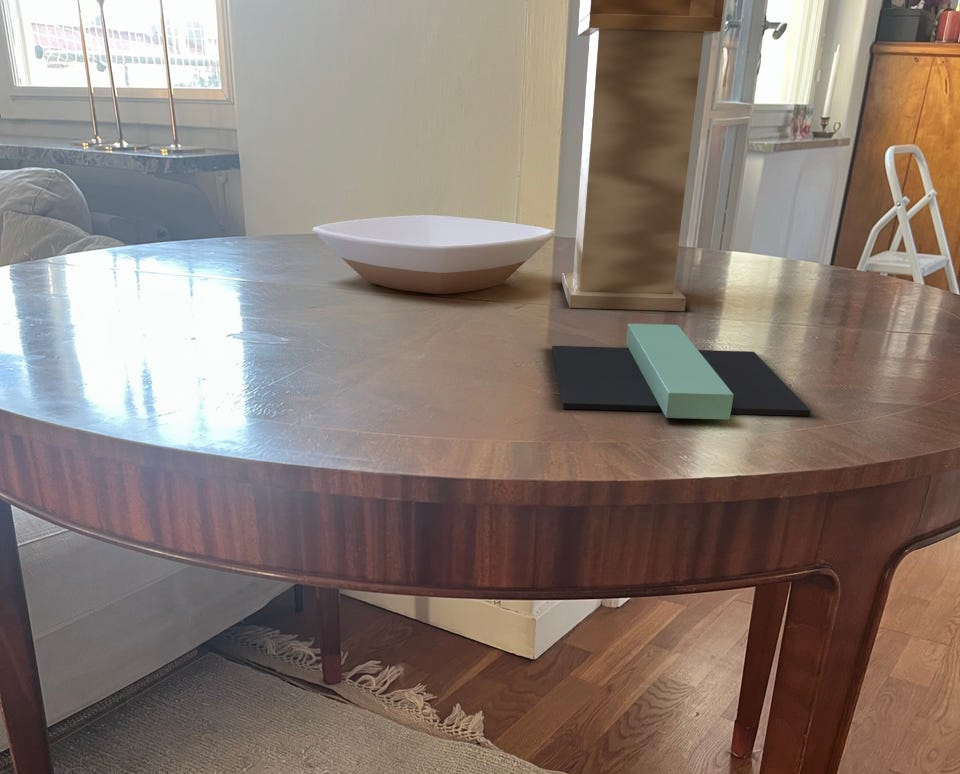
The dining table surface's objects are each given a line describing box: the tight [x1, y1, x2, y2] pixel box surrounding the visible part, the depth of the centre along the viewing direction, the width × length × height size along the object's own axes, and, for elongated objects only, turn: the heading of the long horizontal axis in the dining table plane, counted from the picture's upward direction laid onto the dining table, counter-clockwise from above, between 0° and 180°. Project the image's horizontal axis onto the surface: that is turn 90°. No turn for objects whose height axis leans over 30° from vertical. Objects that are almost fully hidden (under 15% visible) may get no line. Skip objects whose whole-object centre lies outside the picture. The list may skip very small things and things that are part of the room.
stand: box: [561, 0, 725, 312], centre depth 90 cm, size 11×13×26 cm
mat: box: [551, 345, 812, 417], centre depth 68 cm, size 16×16×1 cm
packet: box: [625, 323, 734, 420], centre depth 67 cm, size 4×20×2 cm, turn 179°
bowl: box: [312, 214, 556, 295], centre depth 99 cm, size 22×22×5 cm
